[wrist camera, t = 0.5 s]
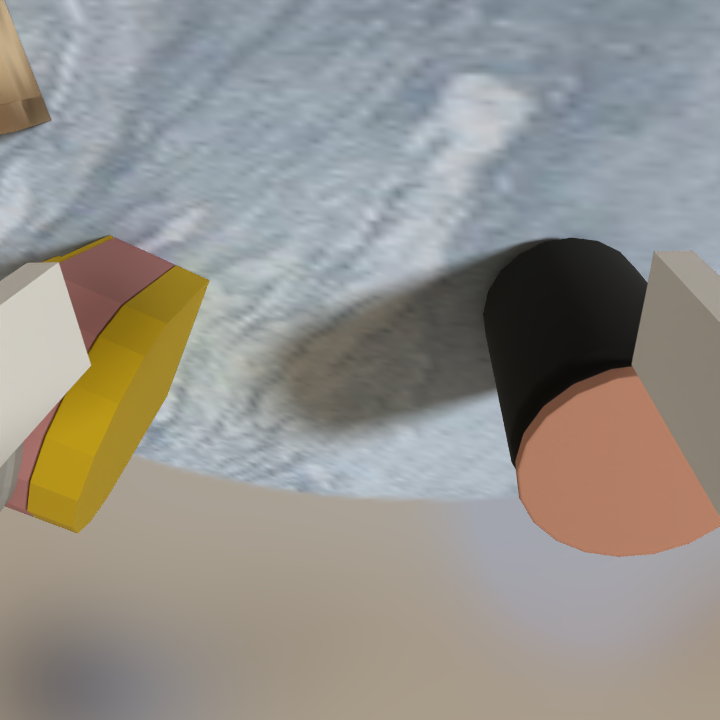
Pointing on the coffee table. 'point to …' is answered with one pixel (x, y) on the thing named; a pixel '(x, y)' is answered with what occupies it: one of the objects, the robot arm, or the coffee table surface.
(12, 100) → the rail
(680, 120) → the coffee table surface
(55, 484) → the alarm clock
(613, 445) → the coffee jar
